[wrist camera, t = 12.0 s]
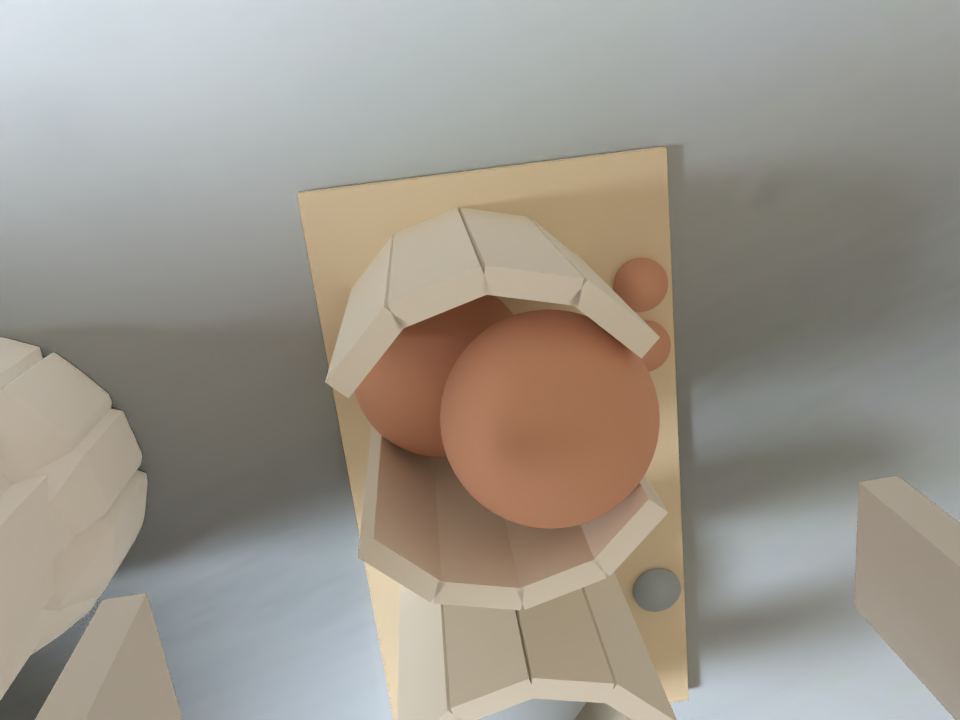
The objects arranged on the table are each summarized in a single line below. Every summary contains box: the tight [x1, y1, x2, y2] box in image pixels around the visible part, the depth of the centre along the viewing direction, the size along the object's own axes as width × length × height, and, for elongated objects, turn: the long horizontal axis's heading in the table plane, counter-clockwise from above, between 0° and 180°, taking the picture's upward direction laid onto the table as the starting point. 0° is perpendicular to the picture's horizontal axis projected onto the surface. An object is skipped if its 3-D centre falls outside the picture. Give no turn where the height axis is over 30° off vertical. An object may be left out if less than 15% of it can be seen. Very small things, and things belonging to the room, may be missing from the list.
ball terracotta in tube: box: [354, 295, 513, 457], centre depth 28 cm, size 6×6×6 cm
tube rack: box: [297, 146, 689, 720], centre depth 28 cm, size 13×24×11 cm, turn 6°
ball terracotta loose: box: [440, 309, 660, 529], centre depth 23 cm, size 6×6×6 cm
